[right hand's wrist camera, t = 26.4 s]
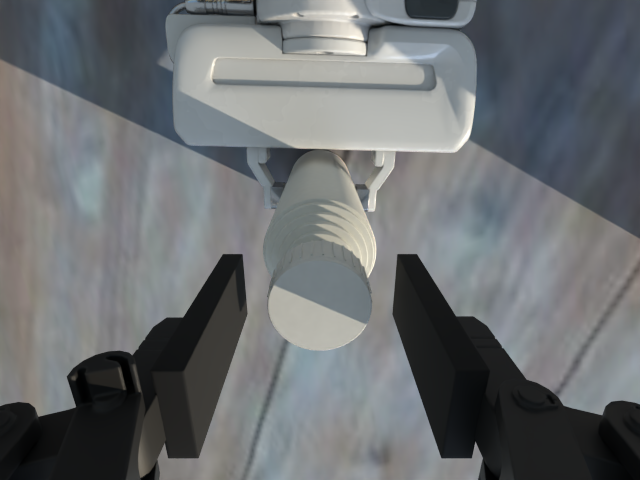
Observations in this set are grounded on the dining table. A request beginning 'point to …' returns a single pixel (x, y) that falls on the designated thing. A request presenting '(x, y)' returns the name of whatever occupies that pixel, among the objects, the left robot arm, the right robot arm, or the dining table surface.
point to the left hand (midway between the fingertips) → (320, 208)
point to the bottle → (319, 211)
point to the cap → (319, 296)
